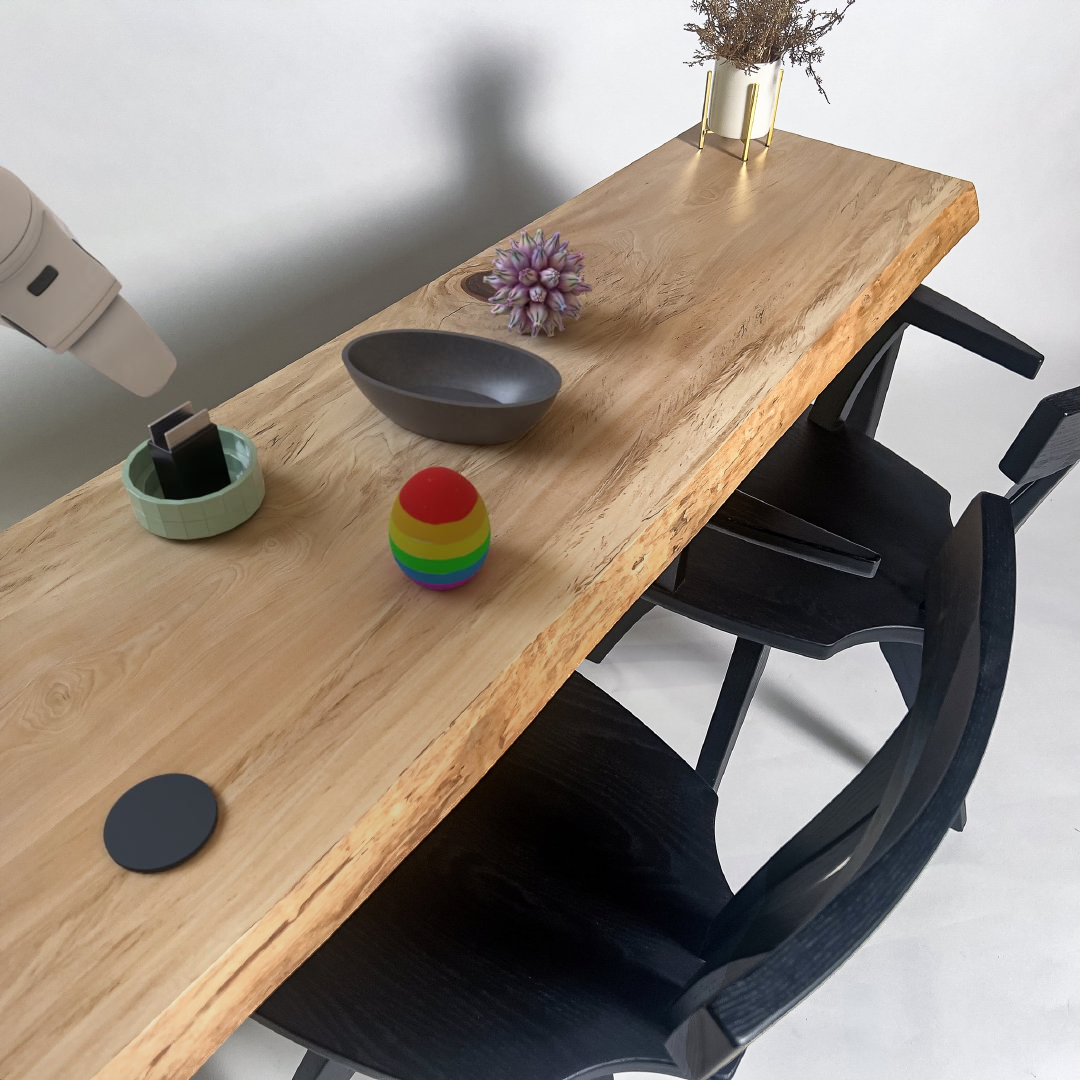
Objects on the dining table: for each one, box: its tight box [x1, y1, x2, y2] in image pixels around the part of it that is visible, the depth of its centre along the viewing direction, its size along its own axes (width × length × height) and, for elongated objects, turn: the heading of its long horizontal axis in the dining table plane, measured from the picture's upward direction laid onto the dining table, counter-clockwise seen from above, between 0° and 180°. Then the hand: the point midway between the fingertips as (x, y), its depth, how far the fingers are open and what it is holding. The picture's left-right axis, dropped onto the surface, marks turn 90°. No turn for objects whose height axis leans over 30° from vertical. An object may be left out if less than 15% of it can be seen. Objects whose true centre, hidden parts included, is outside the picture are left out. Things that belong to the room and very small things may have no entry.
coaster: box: [102, 772, 219, 874], centre depth 62 cm, size 7×7×1 cm
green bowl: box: [121, 424, 266, 540], centre depth 85 cm, size 11×11×4 cm
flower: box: [482, 228, 593, 340], centre depth 106 cm, size 12×12×12 cm
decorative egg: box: [388, 466, 492, 591], centre depth 77 cm, size 8×8×10 cm
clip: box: [147, 400, 232, 500], centre depth 83 cm, size 5×3×9 cm, turn 147°
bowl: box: [341, 328, 563, 446], centre depth 94 cm, size 12×22×6 cm, turn 71°
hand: (119, 355), depth 78 cm, fingers open, 8 cm apart
